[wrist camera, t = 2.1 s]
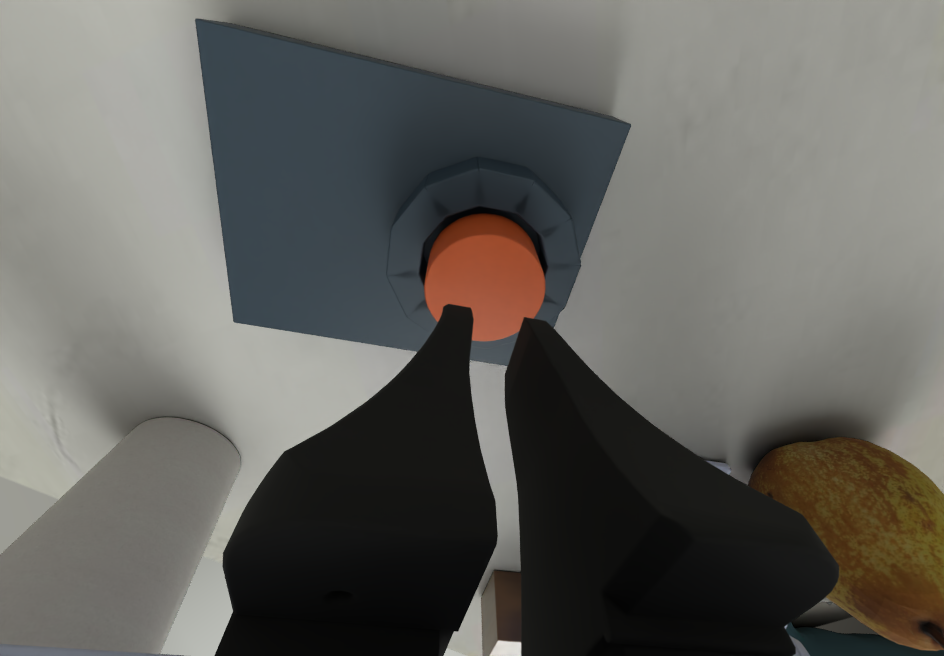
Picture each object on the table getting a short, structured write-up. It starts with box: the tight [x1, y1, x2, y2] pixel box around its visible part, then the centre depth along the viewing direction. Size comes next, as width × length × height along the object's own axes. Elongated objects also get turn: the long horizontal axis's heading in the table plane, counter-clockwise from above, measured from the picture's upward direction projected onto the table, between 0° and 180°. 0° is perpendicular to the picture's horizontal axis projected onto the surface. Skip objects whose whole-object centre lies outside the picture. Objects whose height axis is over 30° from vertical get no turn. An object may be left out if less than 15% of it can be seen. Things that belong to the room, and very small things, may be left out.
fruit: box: [748, 437, 944, 651], centre depth 22 cm, size 9×9×12 cm
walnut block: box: [481, 570, 521, 656], centre depth 34 cm, size 5×5×5 cm
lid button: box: [424, 213, 545, 341], centre depth 14 cm, size 4×4×2 cm
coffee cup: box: [0, 417, 241, 654], centre depth 20 cm, size 10×10×15 cm
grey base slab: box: [195, 19, 631, 366], centre depth 16 cm, size 14×11×4 cm
